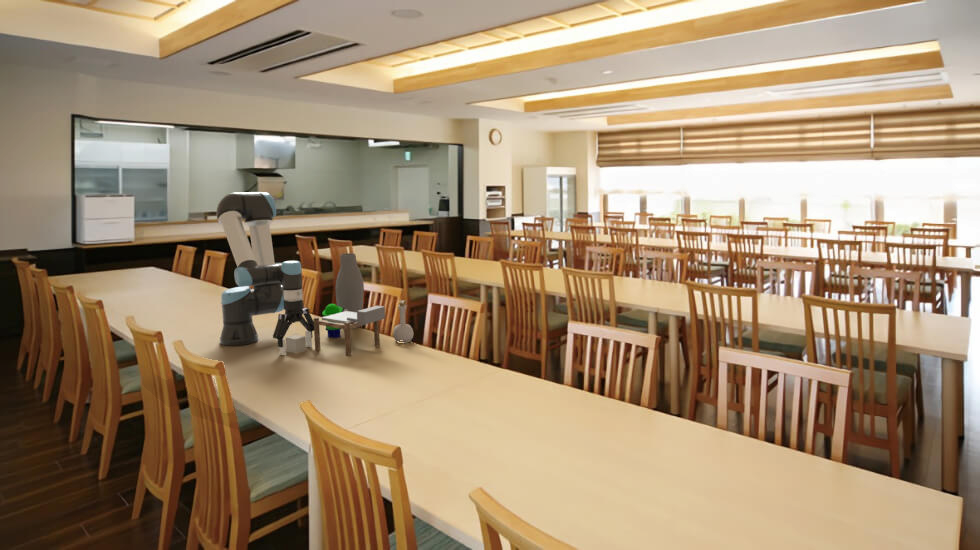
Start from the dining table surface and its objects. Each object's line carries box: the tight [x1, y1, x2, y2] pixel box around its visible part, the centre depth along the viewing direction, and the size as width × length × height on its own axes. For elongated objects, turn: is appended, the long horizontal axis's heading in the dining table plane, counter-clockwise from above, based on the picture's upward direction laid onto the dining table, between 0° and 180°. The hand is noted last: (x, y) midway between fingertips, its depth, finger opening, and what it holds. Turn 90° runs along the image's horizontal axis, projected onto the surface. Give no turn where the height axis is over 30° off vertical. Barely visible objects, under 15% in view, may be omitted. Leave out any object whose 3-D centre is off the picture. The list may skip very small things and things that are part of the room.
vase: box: [335, 252, 365, 329], centre depth 274 cm, size 13×13×35 cm
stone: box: [284, 334, 307, 355], centre depth 236 cm, size 6×5×6 cm
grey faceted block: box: [321, 305, 386, 326], centre depth 236 cm, size 22×14×6 cm, turn 60°
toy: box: [321, 303, 344, 339], centre depth 257 cm, size 9×9×15 cm
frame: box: [313, 310, 381, 357], centre depth 240 cm, size 18×18×14 cm
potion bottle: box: [392, 299, 414, 344], centre depth 249 cm, size 9×9×18 cm
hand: (296, 350), depth 236 cm, fingers open, 13 cm apart
